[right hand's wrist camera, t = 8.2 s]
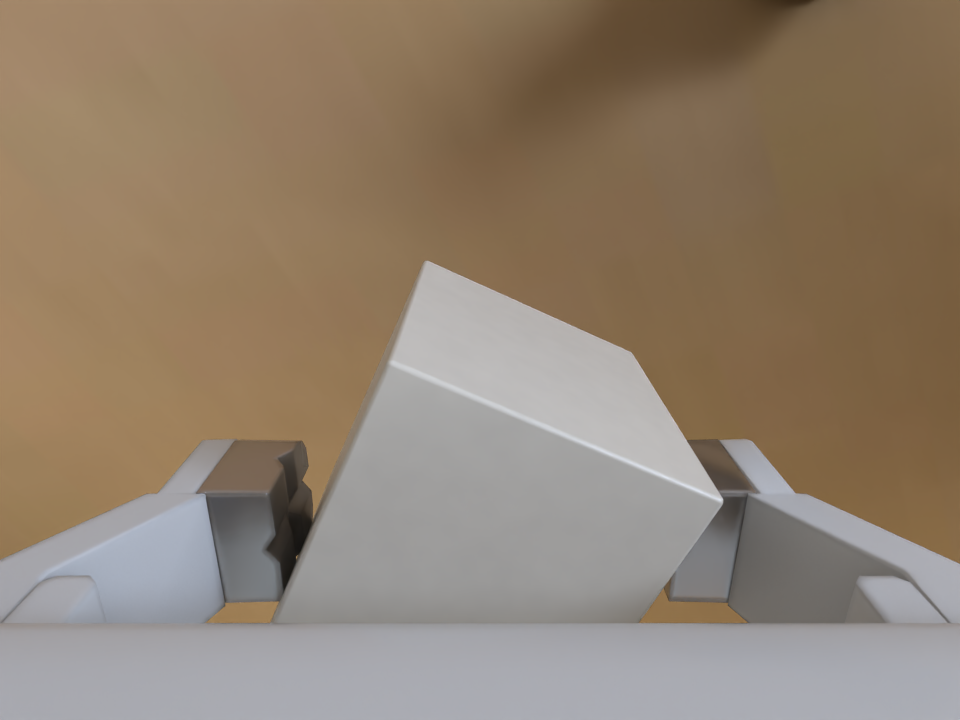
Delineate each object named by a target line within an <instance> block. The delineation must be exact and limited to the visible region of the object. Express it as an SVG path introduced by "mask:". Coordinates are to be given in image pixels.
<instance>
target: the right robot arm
mask: <svg viewBox="0 0 960 720" xmlns="http://www.w3.org/2000/svg"><path fill="white" fill-rule="evenodd" d="M687 442H688V444H689V445H690V447H691V448H692V450H693V452H694V453H695V455H696V456H697V458H698V460H699V461H700V463H701V464H702V466H703V468H704V469H705V471H706V472H707V474H708V476H709V477H710V479H711V481H712V482H713V484H714V485H715V487H716V489H717V490H718V492H719V493H720V495H721V497H722V498H723V505H722V506H721V508H720V509H719V510H718V512H717V513H716V515H715V516H714V517H713V519H712V520H711V522H710V523H709V524H708V526H707V527H706V529H705V530H704V532H703V533H702V534H701V536H700V537H699V539H698V540H697V541H696V543H695V544H694V546H693V547H692V548H691V550H690V551H689V553H688V554H687V555H686V557H685V558H684V560H683V561H682V563H681V564H680V565H679V567H678V568H677V570H676V571H675V572H674V574H673V575H672V577H671V578H670V579H669V581H668V582H667V584H666V585H665V586H664V590H665V592H666V595H667V597H668V600H669V601H684V602H721V603H728V606H729V607H730V608H732V609H733V610H734V611H735V612H736V613H738V614H739V615H740V616H741V617H742V618H743V619H745V620H746V621H747V622H748V623H205V622H206V621H208V620H209V619H210V618H211V617H212V616H214V615H215V614H216V613H217V612H218V611H220V610H221V609H222V608H223V607H224V606H225V603H232V602H268V601H280V600H281V598H282V595H283V593H284V591H285V588H286V586H287V583H288V581H289V578H290V576H291V573H292V571H293V569H294V566H295V564H296V556H297V555H298V554H299V553H300V551H301V549H302V546H303V544H304V541H305V539H306V537H307V534H308V532H309V529H310V527H311V524H312V520H313V502H312V492H311V490H310V489H309V488H308V487H307V485H306V484H305V483H304V482H303V481H302V479H303V477H304V475H305V473H306V471H307V469H308V459H307V452H306V447H305V445H304V443H303V442H302V441H288V440H237V439H215V440H202V442H201V443H200V444H199V445H198V446H197V447H196V448H195V450H194V451H193V452H192V453H191V454H190V455H189V457H188V458H187V459H186V460H185V461H184V463H183V464H182V465H181V466H180V467H179V468H178V470H177V471H176V472H175V473H174V474H173V476H172V477H171V478H170V479H169V480H168V481H167V483H166V484H165V485H164V486H163V487H162V488H161V490H160V491H159V492H158V493H157V494H145V495H143V496H140V497H138V498H136V499H134V500H132V501H129V502H127V503H125V504H123V505H121V506H118V507H116V508H114V509H112V510H109V511H107V512H105V513H103V514H101V515H98V516H96V517H94V518H92V519H90V520H87V521H85V522H83V523H81V524H78V525H76V526H74V527H72V528H70V529H67V530H65V531H63V532H61V533H59V534H56V535H54V536H52V537H50V538H47V539H45V540H43V541H41V542H39V543H36V544H34V545H32V546H30V547H28V548H25V549H23V550H21V551H19V552H16V553H14V554H12V555H10V556H8V557H5V558H3V559H1V560H0V720H960V564H959V563H956V562H954V561H952V560H950V559H948V558H946V557H943V556H941V555H939V554H937V553H935V552H932V551H930V550H928V549H926V548H924V547H922V546H919V545H917V544H915V543H913V542H911V541H908V540H906V539H904V538H902V537H900V536H897V535H895V534H893V533H891V532H889V531H887V530H884V529H882V528H880V527H878V526H876V525H873V524H871V523H869V522H867V521H865V520H863V519H860V518H858V517H856V516H854V515H852V514H849V513H847V512H845V511H843V510H841V509H838V508H836V507H834V506H832V505H830V504H828V503H825V502H823V501H821V500H819V499H817V498H814V497H812V496H810V495H808V494H796V493H795V492H794V491H793V490H792V489H791V487H790V486H789V485H788V484H787V483H786V481H785V480H784V479H783V478H782V477H781V475H780V474H779V473H778V472H777V471H776V469H775V468H774V467H773V466H772V465H771V463H770V462H769V461H768V460H767V459H766V457H765V456H764V455H763V454H762V453H761V451H760V450H759V449H758V448H757V447H756V445H755V444H754V443H753V442H752V441H750V440H748V439H729V440H718V439H714V440H687Z"/></svg>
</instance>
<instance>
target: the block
mask: <svg viewBox="0 0 960 720" xmlns="http://www.w3.org/2000/svg"><path fill="white" fill-rule="evenodd" d="M722 505H723V498H722V497H721V495H720V493H719V492H718V490H717V489H716V487H715V485H714V484H713V482H712V481H711V479H710V477H709V476H708V474H707V472H706V471H705V469H704V468H703V466H702V464H701V463H700V461H699V460H698V458H697V456H696V455H695V453H694V452H693V450H692V448H691V447H690V445H689V444H688V442H687V440H686V439H685V437H684V436H683V434H682V432H681V431H680V429H679V428H678V426H677V424H676V423H675V421H674V420H673V418H672V416H671V415H670V413H669V411H668V410H667V408H666V407H665V405H664V403H663V402H662V400H661V399H660V397H659V395H658V394H657V392H656V391H655V389H654V387H653V386H652V384H651V383H650V381H649V379H648V378H647V376H646V375H645V373H644V371H643V370H642V368H641V367H640V365H639V363H638V362H637V360H636V359H635V357H634V355H633V354H632V353H631V352H629V351H627V350H625V349H623V348H621V347H618V346H616V345H614V344H612V343H609V342H607V341H605V340H603V339H601V338H598V337H596V336H594V335H592V334H589V333H587V332H585V331H583V330H581V329H578V328H576V327H574V326H572V325H569V324H567V323H565V322H563V321H561V320H558V319H556V318H554V317H552V316H549V315H547V314H545V313H543V312H541V311H538V310H536V309H534V308H532V307H529V306H527V305H525V304H523V303H521V302H518V301H516V300H514V299H512V298H509V297H507V296H505V295H503V294H501V293H498V292H496V291H494V290H492V289H489V288H487V287H485V286H483V285H481V284H478V283H476V282H474V281H472V280H469V279H467V278H465V277H463V276H461V275H458V274H456V273H454V272H452V271H449V270H447V269H445V268H443V267H441V266H438V265H436V264H434V263H432V262H429V261H424V262H423V264H422V266H421V269H420V271H419V273H418V275H417V278H416V280H415V282H414V285H413V287H412V289H411V292H410V294H409V296H408V298H407V301H406V303H405V305H404V308H403V310H402V312H401V315H400V317H399V319H398V321H397V324H396V326H395V328H394V331H393V333H392V335H391V338H390V340H389V342H388V344H387V347H386V349H385V351H384V354H383V356H382V358H381V361H380V363H379V365H378V367H377V370H376V372H375V374H374V377H373V379H372V381H371V383H370V386H369V388H368V390H367V393H366V395H365V397H364V400H363V402H362V404H361V406H360V409H359V411H358V413H357V416H356V418H355V420H354V423H353V425H352V427H351V429H350V432H349V434H348V436H347V439H346V441H345V443H344V446H343V448H342V450H341V452H340V455H339V457H338V459H337V462H336V464H335V466H334V469H333V471H332V473H331V476H330V478H329V480H328V483H327V485H326V488H325V490H324V493H323V495H322V498H321V500H320V502H319V505H318V507H317V510H316V512H315V515H314V517H313V520H312V524H311V527H310V529H309V532H308V534H307V537H306V539H305V541H304V544H303V546H302V549H301V551H300V553H299V554H298V556H297V559H296V564H295V566H294V569H293V571H292V573H291V576H290V578H289V581H288V583H287V586H286V588H285V591H284V593H283V595H282V598H281V600H280V601H279V603H278V605H277V608H276V610H275V613H274V615H273V618H272V620H271V623H639V622H640V620H641V619H642V617H643V616H644V615H645V613H646V612H647V610H648V609H649V608H650V606H651V605H652V603H653V602H654V601H655V599H656V598H657V596H658V595H659V593H660V592H661V591H662V589H663V588H664V586H665V585H666V584H667V582H668V581H669V579H670V578H671V577H672V575H673V574H674V572H675V571H676V570H677V568H678V567H679V565H680V564H681V563H682V561H683V560H684V558H685V557H686V555H687V554H688V553H689V551H690V550H691V548H692V547H693V546H694V544H695V543H696V541H697V540H698V539H699V537H700V536H701V534H702V533H703V532H704V530H705V529H706V527H707V526H708V524H709V523H710V522H711V520H712V519H713V517H714V516H715V515H716V513H717V512H718V510H719V509H720V508H721V506H722Z"/></svg>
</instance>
